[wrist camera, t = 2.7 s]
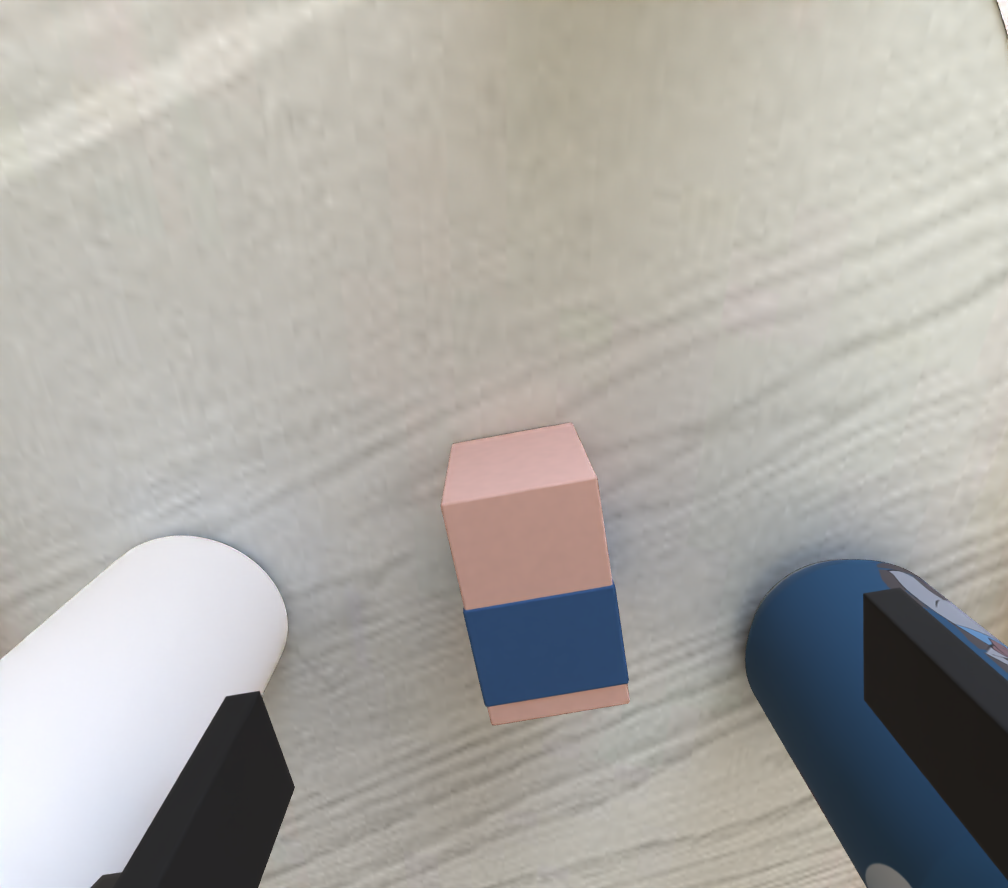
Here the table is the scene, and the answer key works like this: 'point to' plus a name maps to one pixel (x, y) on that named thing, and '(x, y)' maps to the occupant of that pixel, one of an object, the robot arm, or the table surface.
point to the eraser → (535, 574)
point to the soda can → (861, 724)
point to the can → (124, 702)
